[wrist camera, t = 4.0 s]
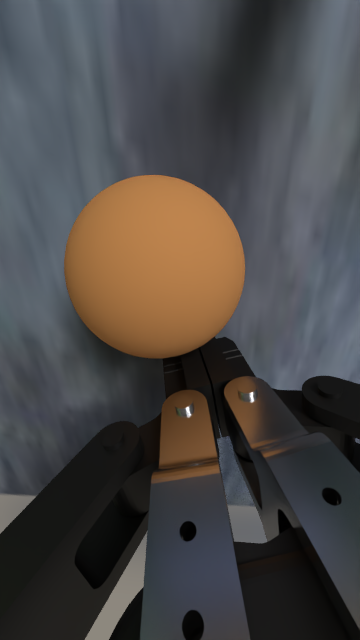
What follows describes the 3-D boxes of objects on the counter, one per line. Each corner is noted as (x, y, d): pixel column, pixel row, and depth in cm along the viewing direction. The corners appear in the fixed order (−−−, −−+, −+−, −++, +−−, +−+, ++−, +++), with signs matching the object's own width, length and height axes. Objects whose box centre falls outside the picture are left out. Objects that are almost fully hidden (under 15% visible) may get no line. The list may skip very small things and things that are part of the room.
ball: (249, 314, 11) (213, 182, 10) (290, 358, 6) (221, 83, 5) (132, 347, 12) (90, 229, 11) (68, 413, 6) (-25, 190, 6)
